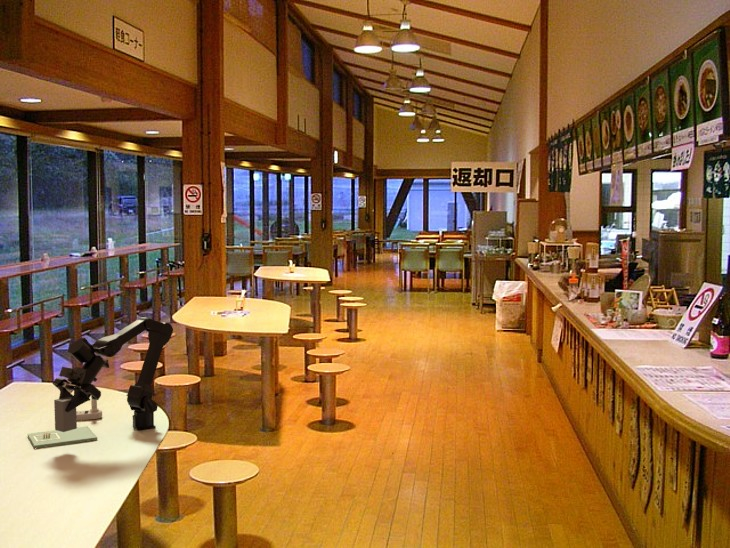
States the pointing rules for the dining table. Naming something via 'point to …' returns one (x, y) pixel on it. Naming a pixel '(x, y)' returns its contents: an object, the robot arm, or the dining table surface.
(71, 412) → the plug block
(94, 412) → the beige bar with post
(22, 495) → the dining table surface
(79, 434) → the board
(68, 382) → the robot arm
